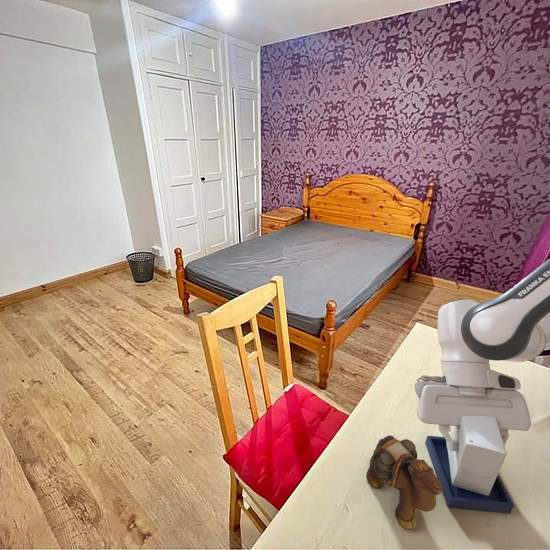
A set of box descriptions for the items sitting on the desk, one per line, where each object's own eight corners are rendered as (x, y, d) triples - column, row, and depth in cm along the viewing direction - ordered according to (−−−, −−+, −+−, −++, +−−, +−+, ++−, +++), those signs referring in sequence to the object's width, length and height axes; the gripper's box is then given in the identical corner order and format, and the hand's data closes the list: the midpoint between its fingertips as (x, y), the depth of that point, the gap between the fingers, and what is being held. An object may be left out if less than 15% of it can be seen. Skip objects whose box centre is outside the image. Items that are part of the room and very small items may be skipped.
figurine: (407, 549, 53) (424, 501, 46) (351, 469, 65) (358, 422, 59) (444, 521, 57) (465, 472, 50) (385, 450, 69) (395, 404, 62)
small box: (488, 497, 59) (508, 455, 53) (451, 486, 61) (465, 444, 55) (480, 457, 65) (496, 416, 59) (447, 448, 67) (459, 408, 62)
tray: (476, 447, 69) (479, 439, 68) (510, 513, 57) (514, 506, 56) (424, 442, 70) (427, 435, 69) (447, 507, 59) (450, 500, 57)
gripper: (419, 374, 62) (426, 451, 58) (528, 381, 60) (543, 461, 55) (409, 374, 68) (414, 444, 64) (508, 380, 66) (520, 452, 61)
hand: (475, 452), depth 59 cm, fingers closed on small box, 7 cm apart
